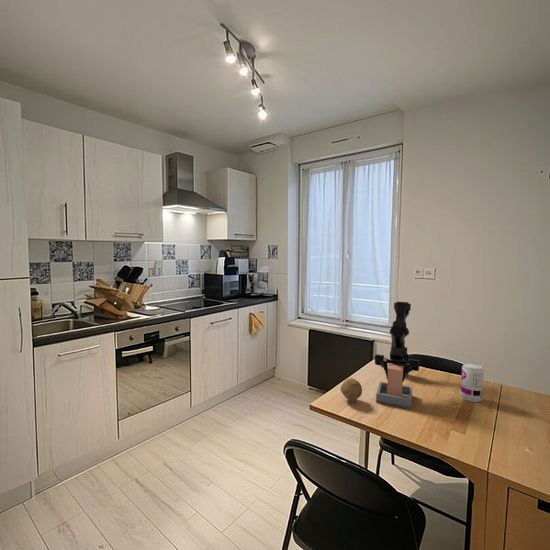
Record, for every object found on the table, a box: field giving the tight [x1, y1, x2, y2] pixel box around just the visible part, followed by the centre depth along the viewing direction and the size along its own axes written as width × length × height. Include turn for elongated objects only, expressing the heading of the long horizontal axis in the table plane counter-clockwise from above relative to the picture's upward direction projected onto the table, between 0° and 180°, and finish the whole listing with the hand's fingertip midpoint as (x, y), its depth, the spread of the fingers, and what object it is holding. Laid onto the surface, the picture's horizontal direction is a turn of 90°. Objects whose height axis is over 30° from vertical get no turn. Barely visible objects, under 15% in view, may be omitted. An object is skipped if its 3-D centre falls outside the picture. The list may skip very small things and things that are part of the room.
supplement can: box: [459, 362, 485, 403], centre depth 142 cm, size 8×8×15 cm
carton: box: [386, 363, 404, 397], centre depth 141 cm, size 6×6×12 cm
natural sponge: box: [340, 377, 363, 403], centre depth 138 cm, size 9×9×10 cm
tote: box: [375, 381, 413, 410], centre depth 141 cm, size 14×14×4 cm
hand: (395, 380), depth 139 cm, fingers closed on carton, 6 cm apart
